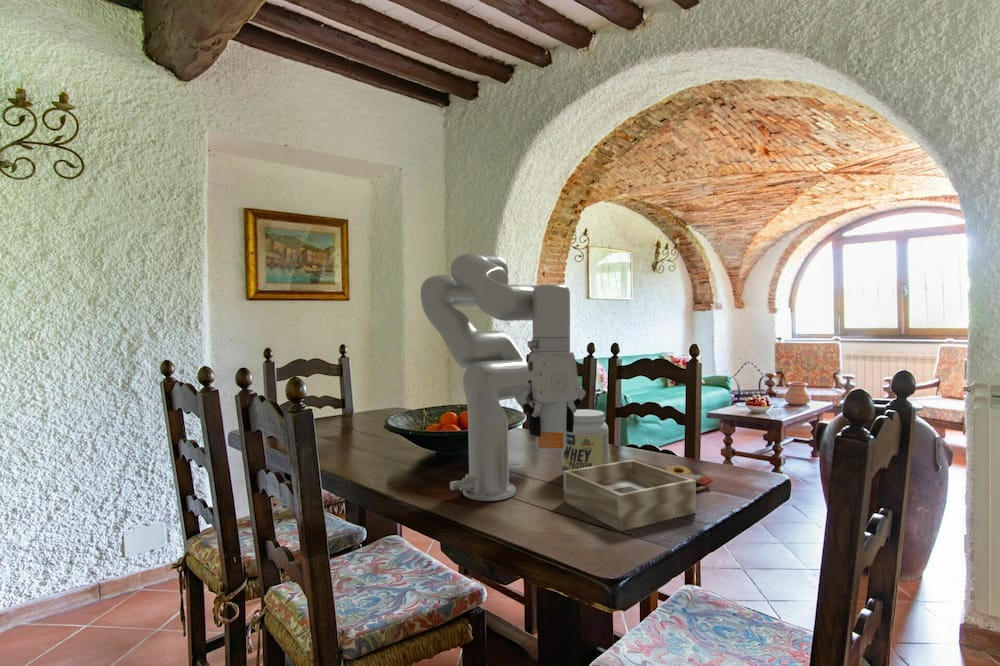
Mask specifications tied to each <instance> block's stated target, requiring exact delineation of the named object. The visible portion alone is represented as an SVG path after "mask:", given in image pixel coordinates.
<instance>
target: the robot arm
mask: <svg viewBox="0 0 1000 666" xmlns="http://www.w3.org/2000/svg"><path fill="white" fill-rule="evenodd" d="M570 291H571V290H570V288H569V287H568V286H567V285H565V284H538V285H537V284H536V285H533V284H509V268H508V264H507V262H506V261H505V260H504V258H502V257H501V256H500V255H498V254H497V255H496V254H488V253H486V254H485V253H470V252H469V253H463V254H459V255H458V256H456V257H455V258H454V260H452V262H451V265H450V274H437V275H432V276H430V277H428V278H426V279H425V280H424V281H423V283H421V287H420V301H421V307H422V309H423V312H424V314H425V316H426V318H427V320H428V321H429V323H430V324H431V325H432V326H433V327H434V329H436V331H437V332H438V333H439V334H440V337H441V338H442V339H443V341H444V343H445V346H446V347H447V348H448V350H449V353H450V354H451V356H452V357H453V359H454V361H455V362H456V364H457V365H458V366H459V367H460V368H461V369H465V370H464V373H463V375H462V384H463V385H462V386H463V391H464V396H465V400H466V401H465V402H466V408H467V409H466V410H467V430H468V431H467V432H468V434H467V435H468V473H467V474H465V477H463V478H462V479H461V480H453V481H452V480H451V481H449V488H450V490H451V491H454V490H459V491H460V492H462V494H463V496H464V497H466V499H470V500H473V501H479V502H495V501H496V502H497V501H502V500H507V499H510V498H511V497H513V496H515V494H516V486H515V485H514V484H512V483H510V463H509V462H510V460H509V455H510V454H509V452H510V451H509V421H508V417H507V414H506V411H505V410H504V408H503V407H502V405H501V403H500V401H504V400H505V401H506V400H512V399H515V401H516V402H517V404H518V405H519V406H520V408H521V409H522V410H523V411H524V412H525V413H526V415H528V431H529V434H530V435H531V436H535V438H536V437H539V436H540V435H541V419H540V417H539V416H538V413H539V411H540V409H541V406H542V404H553V403H558V402H560V393H561V392H566V402H567V432H573V426H574V413H575V412H576V410H577V409H578V407H579V406H580V404H581V403H582V400H583V399H584V397H585V396H586V391H585V389H584V388H582V387H581V386H580V385H579V377H578V368H577V362H576V357H575V354H574V352H572V351H571V292H570ZM456 307H457V308H456ZM458 307H459V308H460V307H478V308H479V310H480V311H482V312H483V313H484V314H487V315H488V316H490V317H492V318H494V319H495V320H499V321H504V322H511V321H532V337H531V340H529V341H527V347H528V348H529V349H531V351H532V352H530V353H529V356H528V357H529V358H528V361H527V360H526V358H525V356H524V355H523V354H522V353H521V350H520V349H519V348H518V346H517V345H516V344H515V342H514V340H513V339H512V338H511V337H510V336H509V335H508V334H506V332H503V331H499V330H479V329H478V328H476V327H475V326H474V325H473V323H472V321H471V320H470V318H469V317H468V315H466V314H465V313H464V312H462V311H461V310H459V309H458ZM526 399H527V400H528V401H529V402H527V400H526Z"/></svg>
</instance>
